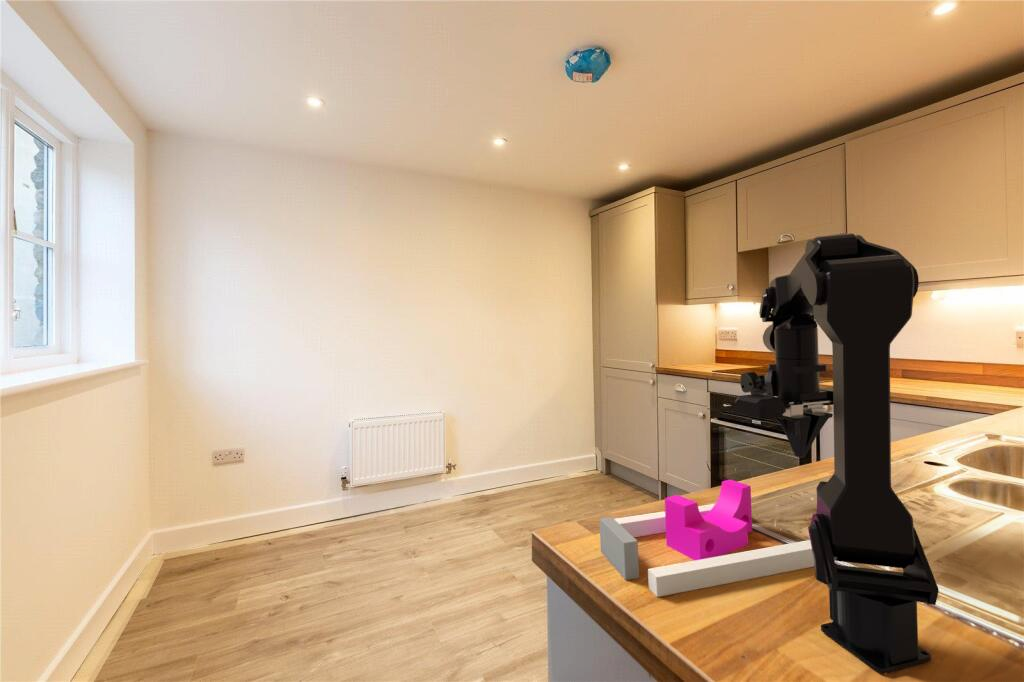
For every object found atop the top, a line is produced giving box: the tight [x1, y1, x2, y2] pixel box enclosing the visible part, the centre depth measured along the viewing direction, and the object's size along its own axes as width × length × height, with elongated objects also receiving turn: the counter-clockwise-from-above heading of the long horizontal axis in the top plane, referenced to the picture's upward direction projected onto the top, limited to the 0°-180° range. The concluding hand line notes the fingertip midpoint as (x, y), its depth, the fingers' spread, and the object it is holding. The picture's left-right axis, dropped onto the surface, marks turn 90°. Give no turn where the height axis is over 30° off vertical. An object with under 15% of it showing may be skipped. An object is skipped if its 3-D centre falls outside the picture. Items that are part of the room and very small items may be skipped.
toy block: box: [664, 479, 753, 561], centre depth 68 cm, size 15×6×8 cm, turn 117°
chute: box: [598, 503, 815, 598], centre depth 65 cm, size 17×28×5 cm, turn 102°
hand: (799, 456), depth 69 cm, fingers closed
